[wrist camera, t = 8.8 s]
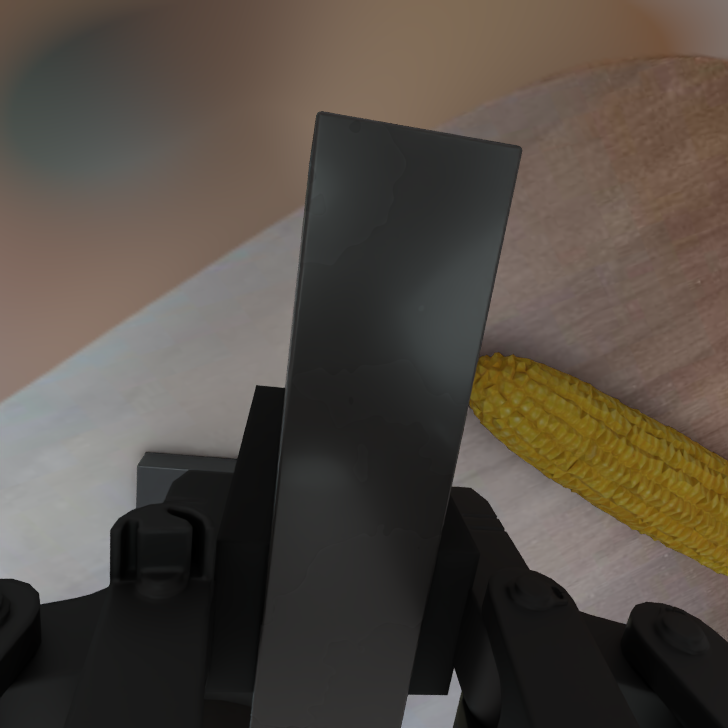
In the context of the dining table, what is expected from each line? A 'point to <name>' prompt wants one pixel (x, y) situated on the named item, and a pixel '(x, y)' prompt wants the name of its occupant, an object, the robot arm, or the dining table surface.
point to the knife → (374, 411)
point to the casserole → (227, 709)
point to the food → (608, 454)
